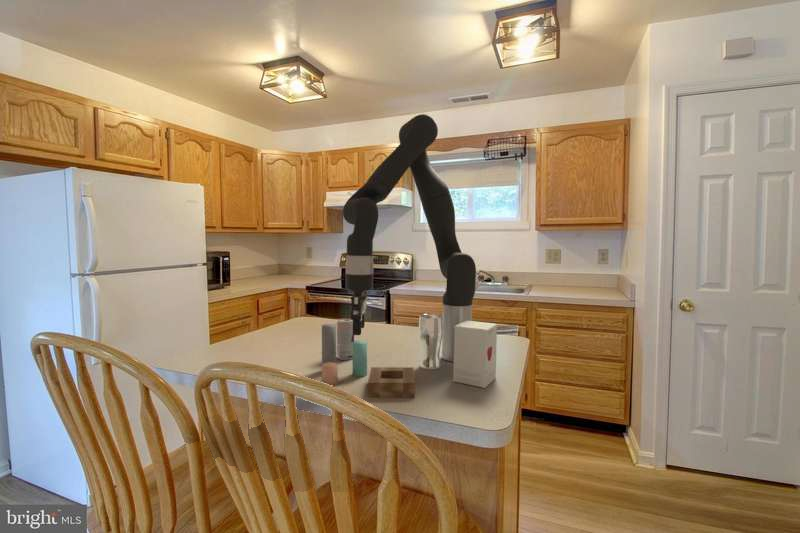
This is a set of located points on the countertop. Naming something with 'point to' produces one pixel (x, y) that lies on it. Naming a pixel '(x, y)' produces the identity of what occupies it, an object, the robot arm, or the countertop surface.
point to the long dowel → (328, 343)
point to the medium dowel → (359, 358)
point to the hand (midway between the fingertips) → (358, 331)
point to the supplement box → (475, 353)
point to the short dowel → (330, 373)
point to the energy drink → (345, 339)
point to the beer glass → (430, 340)
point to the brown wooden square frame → (391, 382)
